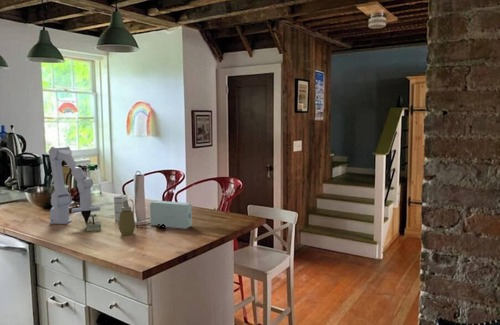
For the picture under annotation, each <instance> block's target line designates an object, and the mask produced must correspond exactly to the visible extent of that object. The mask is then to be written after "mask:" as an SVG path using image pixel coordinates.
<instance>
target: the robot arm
mask: <svg viewBox="0 0 500 325" xmlns="http://www.w3.org/2000/svg"><path fill="white" fill-rule="evenodd" d="M48 156H49V162H50V166H51V172H52V173H51V174H52V181H53V186H54V192H52V194H51V196H50V205H51V206H52V207H51V208H50V210H49V221H50V222H49V224H52V225H53V224H54V225H57V224H58V225H66V224H69V223H70V222H72V221H73V219H70V212H69V207H70V205H71V204H72V201H73V200H72V196H71V195H70V192H69V191H68V190H67V189H66V187H65V186H66V185H65V178H64V174H63V173H64V172H63V165H62V162H65V164H66V165H67V166H68V167H69V169H71V172H70V173H71V175H72V177H73V178H74V180H75V181H76V187H77V189H78V193H79V204H80V205H79V206H80V207H75V208H71V214H72V213H80V214H81V216H82V217H83V219H84V222H85V224H86V223H89V216H90V215H91V213H92V212H94V211H95V212H96V211H101V206H92V191H91V190H92V189H91V188H92V187H93V185H94V182H93V179H92V178H91V177H89V176H88V175H86V173H85V171H83V169H82V167H81V166H78V164H77V163H76V160H74V157H73V155H72V149H71V147H69V145H61V146H51V147H50V149H49V150H48Z"/></svg>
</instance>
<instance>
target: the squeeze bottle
mask: <svg viewBox="0 0 500 325" xmlns="http://www.w3.org/2000/svg"><path fill="white" fill-rule="evenodd" d="M135 228H136V223H135V216H134V211H133V210H132V207H131V206H130V205H129V201H127V200H125V203H124V207H122V211H121V212H120V219H119V221H118V229H119V232H120V234H121V235H122V236H124V237H125V236H131V235H134V232H135Z"/></svg>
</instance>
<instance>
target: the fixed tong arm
mask: <svg viewBox="0 0 500 325" xmlns="http://www.w3.org/2000/svg"><path fill="white" fill-rule="evenodd" d="M89 217H92V220H93V229H94V232H98V231H102V222H101V221H99V218H98V214H96V213H92V214H90V216H89Z"/></svg>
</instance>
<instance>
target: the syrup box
mask: <svg viewBox="0 0 500 325" xmlns="http://www.w3.org/2000/svg"><path fill="white" fill-rule="evenodd" d="M125 200H127V201H128V195H127V194H118V195H116V196H115V195H114V196H113V207H114V221H116V222H119V219H120V212H121V211H122V207H124V203H125ZM128 202H129V201H128Z"/></svg>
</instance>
